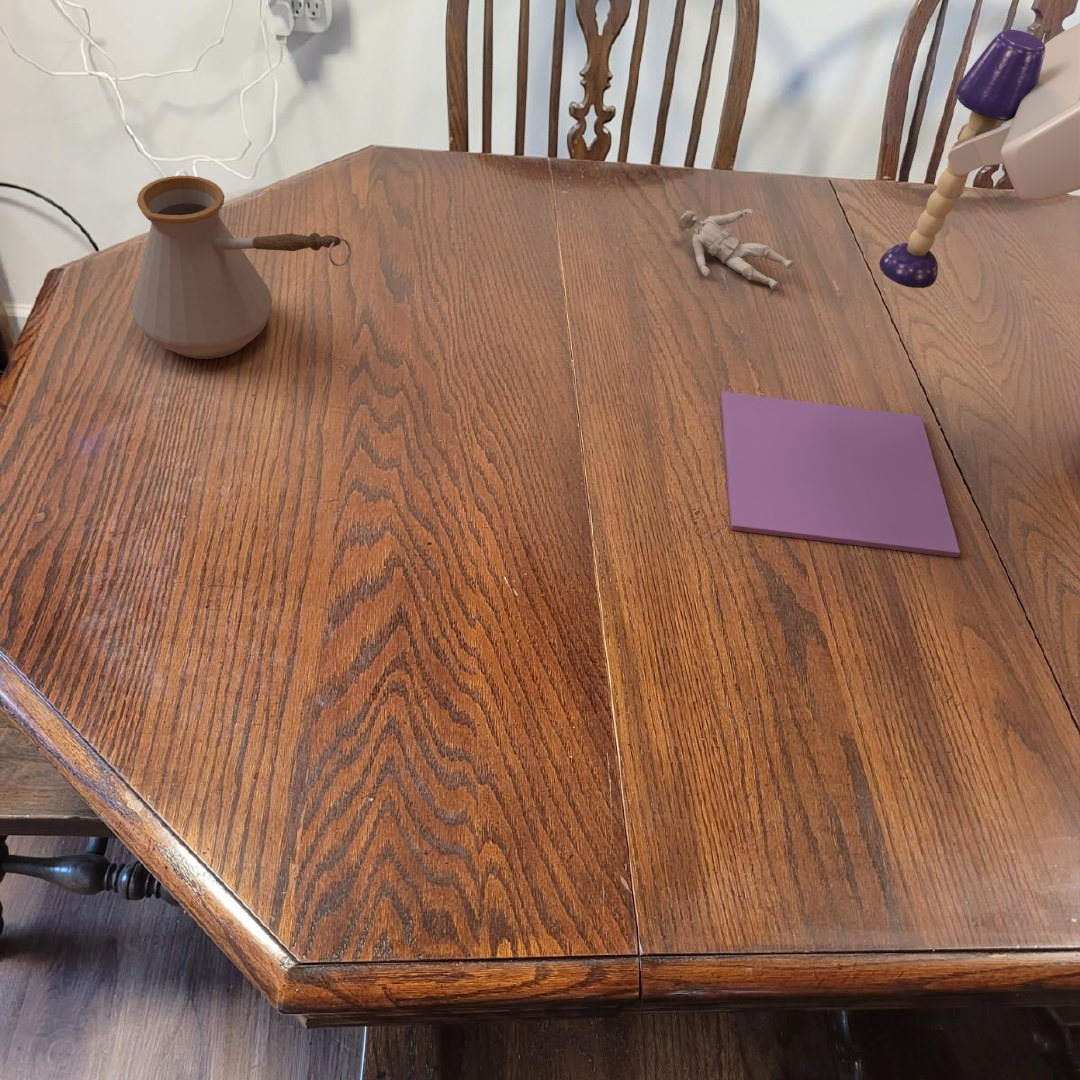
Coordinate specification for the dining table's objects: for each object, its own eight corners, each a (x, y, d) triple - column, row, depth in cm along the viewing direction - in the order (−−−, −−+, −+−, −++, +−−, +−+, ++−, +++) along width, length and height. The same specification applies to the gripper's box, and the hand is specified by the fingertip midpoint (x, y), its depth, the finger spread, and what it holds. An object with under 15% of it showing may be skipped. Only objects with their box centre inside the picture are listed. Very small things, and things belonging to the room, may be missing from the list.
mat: (918, 420, 84) (921, 415, 84) (957, 557, 74) (960, 552, 73) (720, 395, 84) (721, 390, 83) (730, 530, 73) (732, 525, 73)
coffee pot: (109, 340, 80) (58, 175, 69) (203, 277, 87) (171, 118, 76) (311, 439, 75) (292, 278, 64) (394, 364, 82) (390, 207, 71)
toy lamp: (949, 273, 70) (1067, 38, 58) (931, 301, 67) (1051, 60, 55) (888, 249, 71) (991, 14, 59) (868, 275, 69) (971, 35, 56)
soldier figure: (756, 312, 94) (660, 240, 94) (750, 317, 99) (658, 249, 99) (806, 247, 93) (708, 174, 93) (797, 255, 98) (704, 186, 98)
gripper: (1193, -63, 58) (967, 55, 68) (1180, 43, 46) (904, 170, 55) (1222, 33, 60) (999, 135, 70) (1217, 159, 48) (947, 262, 58)
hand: (957, 151), depth 63 cm, fingers closed on toy lamp
